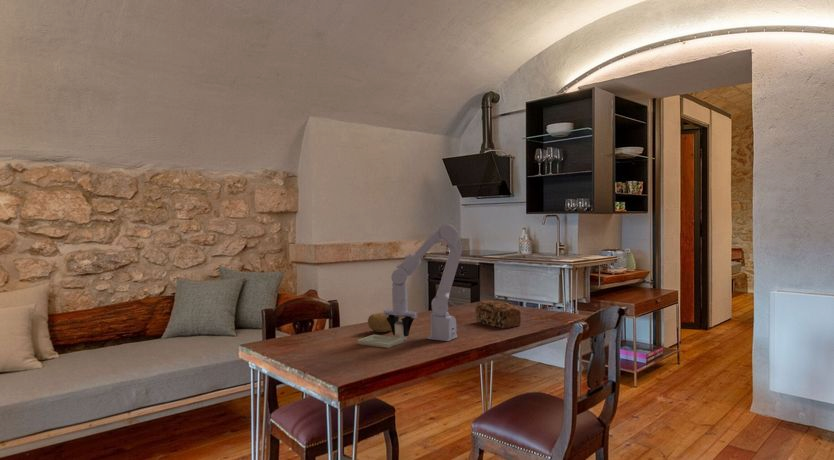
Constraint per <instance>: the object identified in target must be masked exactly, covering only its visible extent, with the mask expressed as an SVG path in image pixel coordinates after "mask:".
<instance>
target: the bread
mask: <svg viewBox="0 0 834 460" xmlns="http://www.w3.org/2000/svg"><path fill="white" fill-rule="evenodd" d="M475 305H476V307H475V309H474V310H475V318H476V322H477V323H478V322H479V323H482V324H483V325H486V324H487V326H490V325H491V326H490V327H494V326H496V327H495V328H500V329H510V328H512V327H513V328H516V327H520V326H521V321H522V314H521V311H520V309H519V307H517V306H515V305H514V304H510V303H508V302H505V301H498V300H496V301H495V300H490V299H483V300H480V301H478V303H476V304H475Z"/></svg>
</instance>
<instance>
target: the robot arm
mask: <svg viewBox="0 0 834 460" xmlns="http://www.w3.org/2000/svg"><path fill="white" fill-rule="evenodd" d="M459 234H460V233H459V231H457V229H456V228H455V226H454V225H453V224H450V223H444V224H442V225H440V226H439V228H437V229H436V230H435V231H434V232H432V233H431V234H430V235H429V236H428V237H427V239H426V240H425V241H424V242H423V243H422V245H420V247H419V248H418V249H417V250H416V251H415V253H409V254H408V255H407V254H406V255H405V256H404V260H403V261H402V262H401V263H400V264H398V265H397V266H396V269H395V270H394V271H393V272H392V273H391V281H392V284H391V286H392V289H391V291H392V292H391V296H392V297H391V298H392V309H384V310H383V313H384V316H387V315H388V317H387V320H388V322H389V324H390V326H391V332H392V335H393V336H395V321H399V318H400V317H401V321H402V323H403V328H404V336H405V337H406V336H407V337H409V334H410V330H411V326H412V324H413V322H414V320H415V319H416V318H418V312H416V311H409V310H408V288H407V281H408V277H409V276H411V275H412V274H413V273H414V272H415V271H416V270H417V269H418V267H419V266H420V265H421V264H422V262H421V261H422V258H423V257H424V256H425V255H426V253H428V252H429V251H430V250H431V249H432V248H433V246H435V244H439V243H442V240H443V241H444V242H445V243H446V245H447V247H448V248H449V252H448V256H447V259H446V262H445V264H444V265H445V266H444V268H443V272H442V275H441V280H440V282H439V286H438V289H437V291H436V295H435V296H434V298H432V300H431V310H432V312H430V336H427V337H426V339H427V340H433V341H444V342H449V341H452V340H454V339H456V338H458V335H457V320H456V319H457V318H456V317H455V316H453V315H450V313H449V312H448V311H449V304H448V303H449V299H450V293H451V291H452V290H451V289H452V286H453V284H454V283H453V282H454V280H455V276H456V273H457V270H458V266H459V262H460V259H461V257H462V253H463V247H464V246H463V244H462V241H461V238H460V235H459Z"/></svg>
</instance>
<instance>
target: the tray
mask: <svg viewBox="0 0 834 460" xmlns="http://www.w3.org/2000/svg"><path fill="white" fill-rule="evenodd" d="M404 342H405V340H404V338H399V337H395V336H392V335H391V336H388V335H380V334H371V335H368V336H366V337H362V338H360V339H359V338H358V339H357V345H361V346H362V345H363V346H369V347H377V348H383V349H390V348H393V347H395V346H398V345H400V344H403V343H404Z"/></svg>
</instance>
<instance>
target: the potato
mask: <svg viewBox="0 0 834 460" xmlns="http://www.w3.org/2000/svg"><path fill="white" fill-rule="evenodd" d="M387 317H388V315H387V316H384V312H378V313H372V314H370V316H368V318H367V325H368V327H369V328H370V329H371V330H372V331H374V332H378V333H388V332H389V331H392V329H391V326H390V324H389V322H388V320H387Z"/></svg>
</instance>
